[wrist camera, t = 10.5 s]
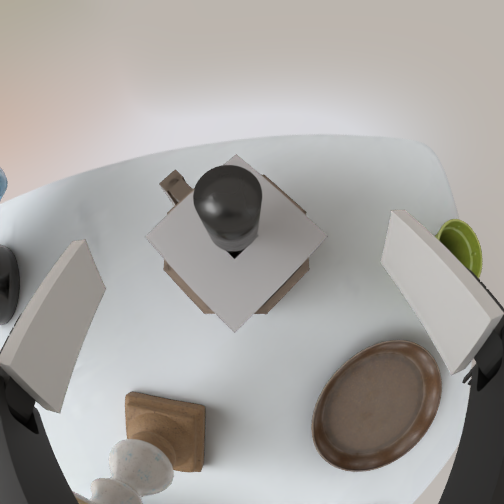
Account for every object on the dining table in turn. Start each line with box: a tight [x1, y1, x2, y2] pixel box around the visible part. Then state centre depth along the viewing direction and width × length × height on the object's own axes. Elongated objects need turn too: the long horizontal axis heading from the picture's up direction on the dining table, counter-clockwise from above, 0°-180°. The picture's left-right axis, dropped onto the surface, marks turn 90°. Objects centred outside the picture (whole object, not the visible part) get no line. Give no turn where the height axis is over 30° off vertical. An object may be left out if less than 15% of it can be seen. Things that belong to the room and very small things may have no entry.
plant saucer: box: [311, 340, 442, 472], centre depth 30 cm, size 21×21×3 cm
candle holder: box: [72, 392, 205, 504], centre depth 18 cm, size 11×11×24 cm
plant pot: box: [435, 219, 482, 278], centre depth 31 cm, size 9×9×9 cm
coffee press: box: [145, 154, 328, 333], centre depth 27 cm, size 15×11×16 cm
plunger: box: [193, 165, 262, 259], centre depth 23 cm, size 9×9×22 cm
